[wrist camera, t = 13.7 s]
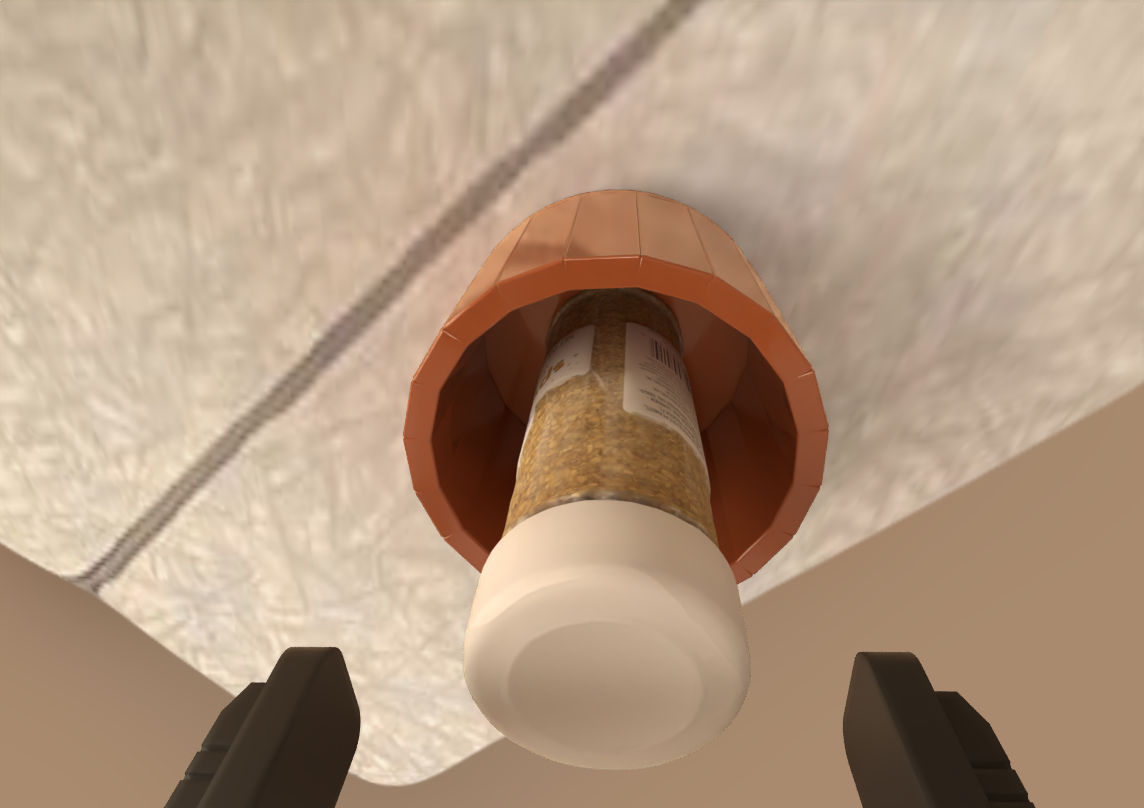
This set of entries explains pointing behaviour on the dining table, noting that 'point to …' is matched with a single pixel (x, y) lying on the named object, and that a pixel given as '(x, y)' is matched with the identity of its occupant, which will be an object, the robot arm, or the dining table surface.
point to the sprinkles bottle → (609, 556)
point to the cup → (710, 353)
